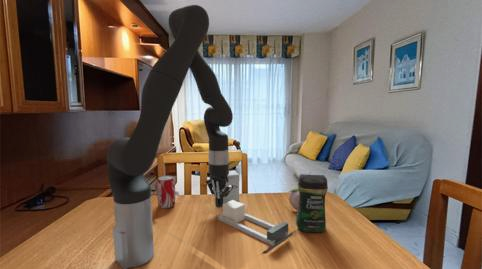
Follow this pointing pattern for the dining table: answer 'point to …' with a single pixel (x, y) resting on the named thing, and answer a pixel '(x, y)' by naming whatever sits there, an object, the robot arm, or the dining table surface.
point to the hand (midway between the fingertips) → (219, 206)
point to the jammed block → (234, 210)
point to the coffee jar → (312, 203)
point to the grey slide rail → (273, 234)
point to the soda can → (166, 191)
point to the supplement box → (234, 181)
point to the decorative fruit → (294, 198)
